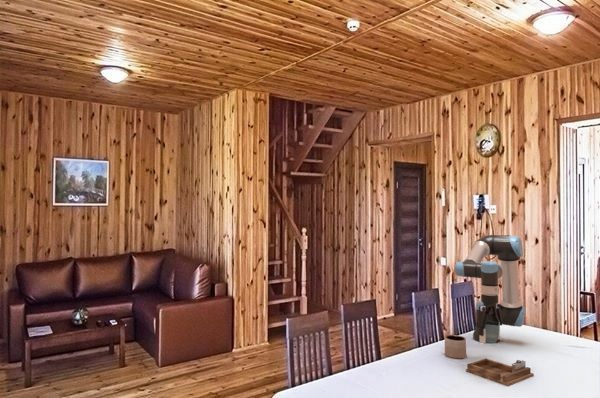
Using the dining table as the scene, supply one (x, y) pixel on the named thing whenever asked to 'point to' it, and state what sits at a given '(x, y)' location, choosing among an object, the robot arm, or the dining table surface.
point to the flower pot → (492, 331)
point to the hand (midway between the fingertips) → (489, 340)
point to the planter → (455, 346)
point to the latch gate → (518, 365)
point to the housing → (498, 372)
